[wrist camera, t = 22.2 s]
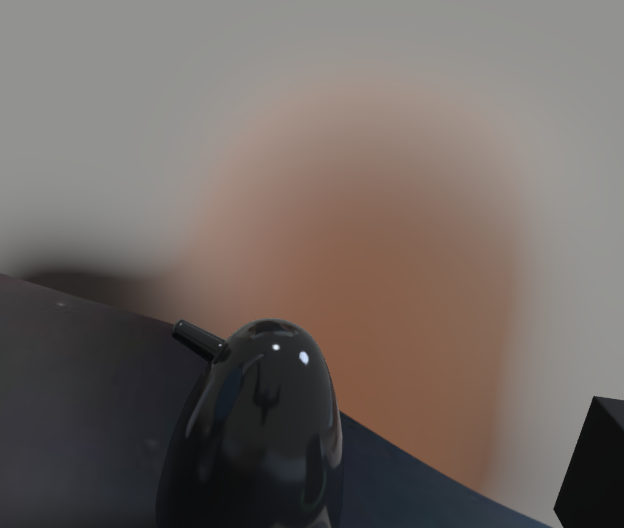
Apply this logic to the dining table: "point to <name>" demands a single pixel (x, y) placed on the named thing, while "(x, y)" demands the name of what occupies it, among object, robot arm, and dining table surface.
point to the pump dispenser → (255, 434)
